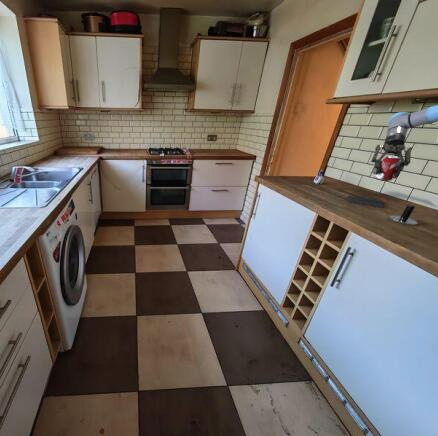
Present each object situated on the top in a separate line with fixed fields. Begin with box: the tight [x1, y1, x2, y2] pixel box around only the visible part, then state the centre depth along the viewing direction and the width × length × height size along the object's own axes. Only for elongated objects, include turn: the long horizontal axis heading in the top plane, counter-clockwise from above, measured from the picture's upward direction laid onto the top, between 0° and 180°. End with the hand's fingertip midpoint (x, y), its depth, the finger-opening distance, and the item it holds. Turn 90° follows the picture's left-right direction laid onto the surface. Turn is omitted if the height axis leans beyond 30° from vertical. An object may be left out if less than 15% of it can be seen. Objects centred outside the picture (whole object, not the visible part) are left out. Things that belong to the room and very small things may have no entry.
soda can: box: [374, 155, 401, 182], centre depth 118 cm, size 7×7×12 cm
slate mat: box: [347, 195, 385, 209], centre depth 126 cm, size 14×12×1 cm
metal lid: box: [388, 204, 418, 227], centre depth 103 cm, size 9×9×8 cm
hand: (387, 174), depth 116 cm, fingers closed on soda can, 7 cm apart
